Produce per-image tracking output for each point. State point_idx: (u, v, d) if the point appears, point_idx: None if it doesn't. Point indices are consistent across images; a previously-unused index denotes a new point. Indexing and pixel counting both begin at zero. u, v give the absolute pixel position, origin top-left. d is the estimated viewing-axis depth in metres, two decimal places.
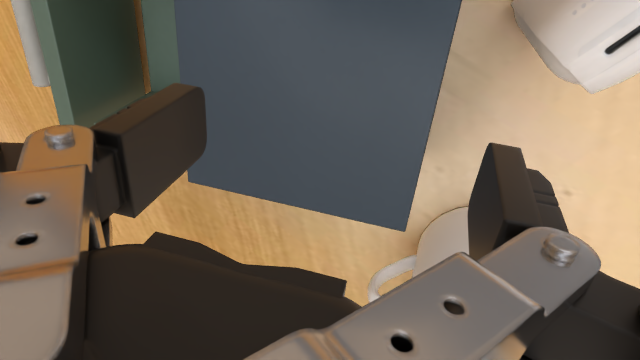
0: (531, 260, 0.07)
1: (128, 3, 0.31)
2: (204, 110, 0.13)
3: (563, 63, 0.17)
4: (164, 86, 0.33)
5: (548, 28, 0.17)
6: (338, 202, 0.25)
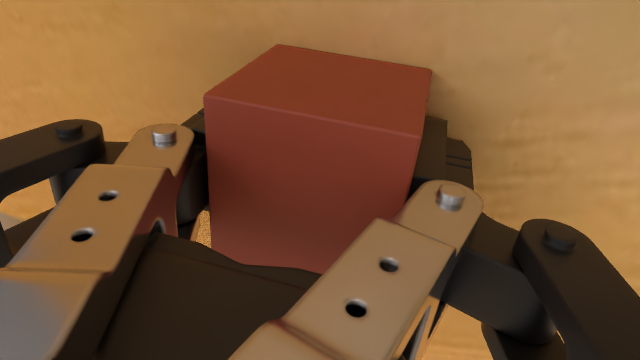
0: (432, 211, 0.08)
1: None
2: None
3: None
4: None
5: None
6: None
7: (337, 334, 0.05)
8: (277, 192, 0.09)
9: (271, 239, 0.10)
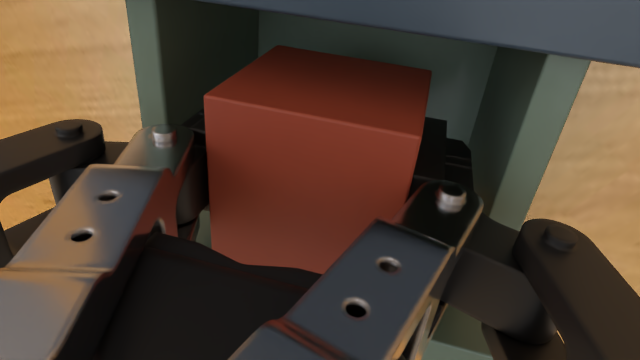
0: (432, 211, 0.08)
1: None
2: None
3: None
4: None
5: None
6: None
7: (337, 334, 0.05)
8: (277, 193, 0.09)
9: (271, 240, 0.10)
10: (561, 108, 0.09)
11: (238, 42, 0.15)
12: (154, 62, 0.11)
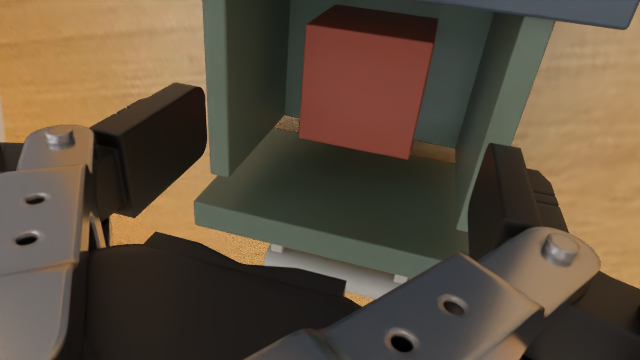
0: (531, 260, 0.07)
1: None
2: (204, 110, 0.13)
3: None
4: (448, 122, 0.20)
5: None
6: None
7: None
8: (346, 86, 0.16)
9: (339, 119, 0.16)
10: (534, 60, 0.12)
11: (275, 21, 0.18)
12: (220, 31, 0.14)
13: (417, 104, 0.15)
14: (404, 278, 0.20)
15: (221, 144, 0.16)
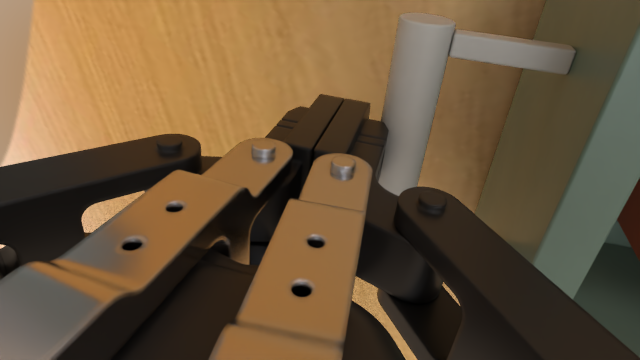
0: (331, 184, 0.08)
1: None
2: None
3: None
4: None
5: None
6: None
7: (293, 317, 0.05)
8: None
9: None
10: None
11: None
12: None
13: None
14: None
15: None
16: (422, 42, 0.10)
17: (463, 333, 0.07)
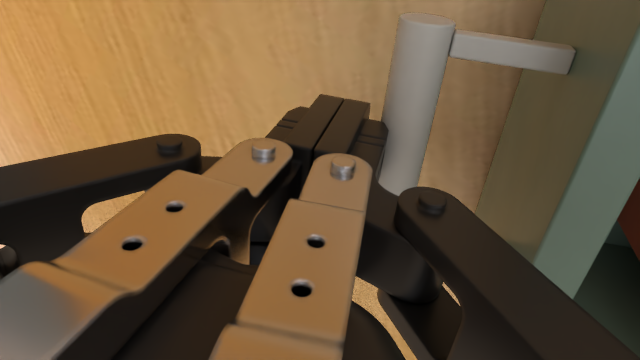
0: (331, 184, 0.08)
1: None
2: None
3: None
4: None
5: None
6: None
7: (293, 317, 0.05)
8: None
9: None
10: None
11: None
12: None
13: None
14: None
15: None
16: (422, 42, 0.10)
17: (463, 333, 0.07)
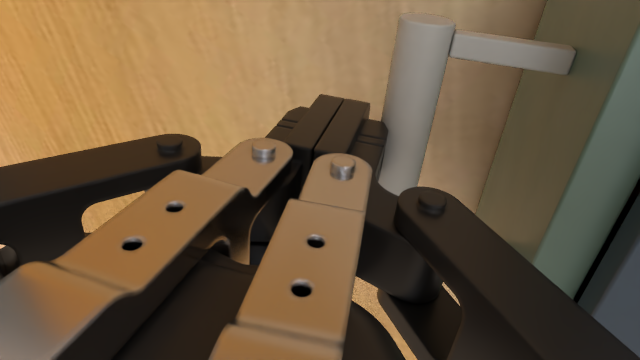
0: (331, 183, 0.08)
1: None
2: None
3: None
4: None
5: None
6: None
7: (293, 317, 0.05)
8: None
9: None
10: None
11: None
12: None
13: None
14: None
15: None
16: (422, 42, 0.10)
17: (463, 333, 0.07)
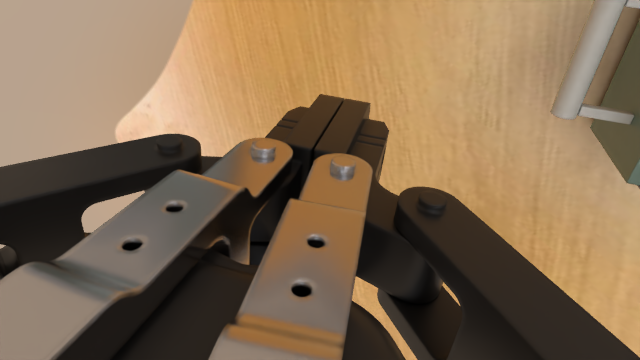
0: (331, 184, 0.08)
1: None
2: None
3: None
4: None
5: None
6: None
7: (292, 317, 0.05)
8: None
9: None
10: None
11: None
12: None
13: None
14: (585, 114, 0.25)
15: None
16: None
17: (463, 333, 0.07)
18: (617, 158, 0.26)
